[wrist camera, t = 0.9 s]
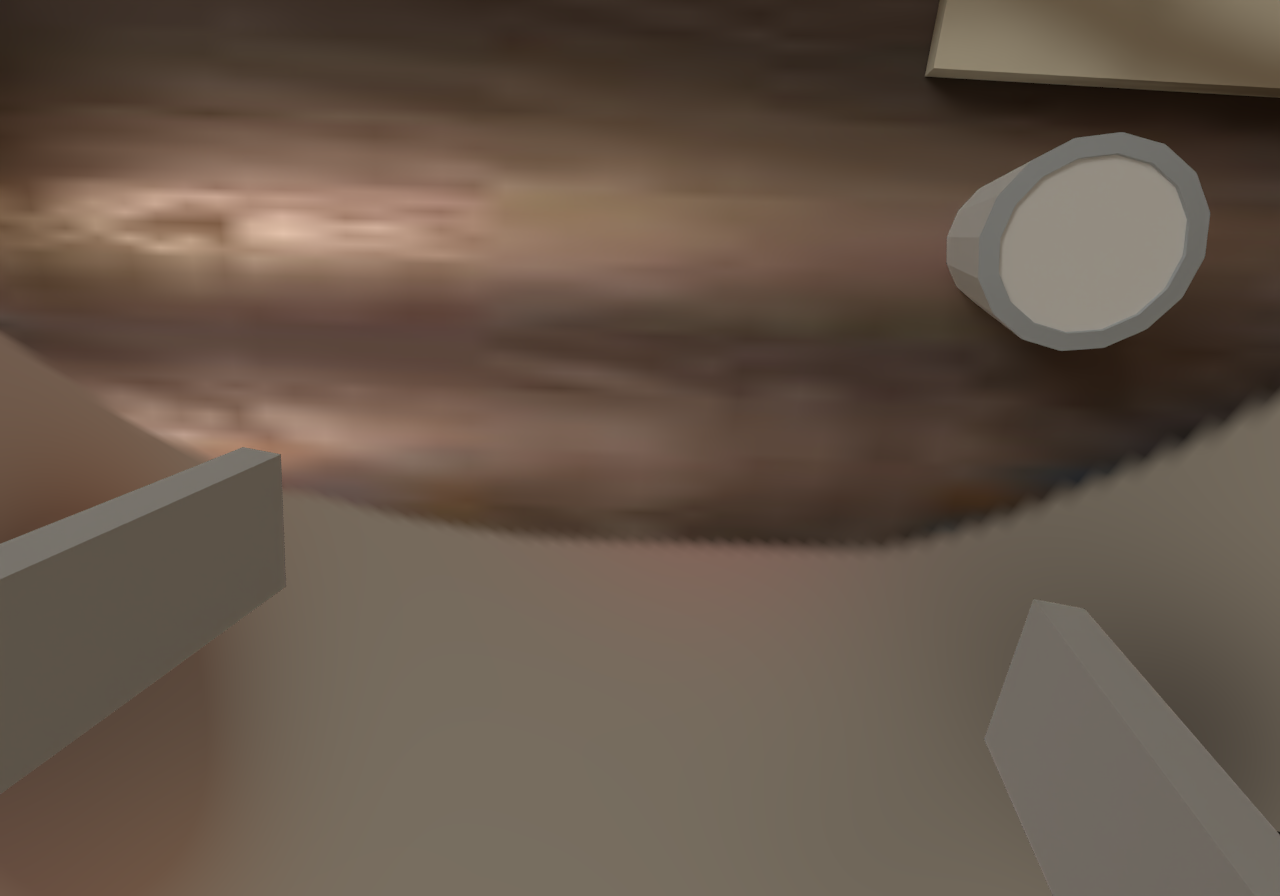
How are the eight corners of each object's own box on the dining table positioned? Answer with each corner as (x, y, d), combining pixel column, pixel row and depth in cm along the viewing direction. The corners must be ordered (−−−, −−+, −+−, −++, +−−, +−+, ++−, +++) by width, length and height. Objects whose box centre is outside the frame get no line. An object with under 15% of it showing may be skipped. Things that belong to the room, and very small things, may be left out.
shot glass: (996, 123, 28) (1069, 89, 21) (1146, 205, 28) (1265, 197, 21) (897, 277, 30) (934, 291, 23) (1035, 353, 30) (1111, 388, 23)
